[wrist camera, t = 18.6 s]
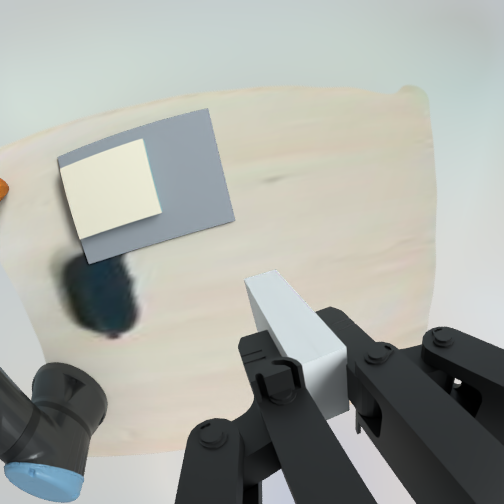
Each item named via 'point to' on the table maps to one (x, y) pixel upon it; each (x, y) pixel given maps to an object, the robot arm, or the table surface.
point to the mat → (167, 183)
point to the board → (111, 189)
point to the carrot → (3, 189)
